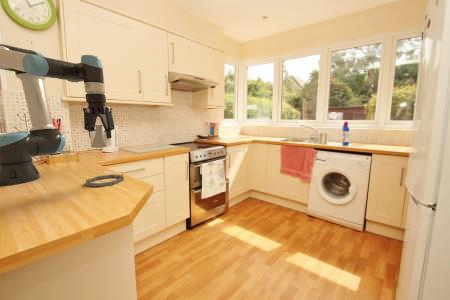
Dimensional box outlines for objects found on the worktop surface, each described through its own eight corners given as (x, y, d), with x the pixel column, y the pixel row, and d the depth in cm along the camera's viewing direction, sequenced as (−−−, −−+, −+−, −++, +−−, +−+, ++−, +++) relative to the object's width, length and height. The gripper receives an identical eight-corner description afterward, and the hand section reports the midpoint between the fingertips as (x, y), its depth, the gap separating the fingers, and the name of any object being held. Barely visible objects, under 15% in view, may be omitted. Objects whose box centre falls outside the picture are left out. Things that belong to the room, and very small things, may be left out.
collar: (78, 185, 93) (77, 180, 93) (105, 176, 108) (105, 171, 107) (105, 187, 89) (105, 182, 89) (130, 177, 104) (130, 173, 103)
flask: (102, 148, 92) (99, 125, 90) (88, 148, 93) (85, 125, 91) (114, 145, 98) (111, 124, 97) (100, 145, 100) (98, 124, 98)
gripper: (69, 94, 91) (76, 146, 95) (107, 91, 86) (113, 147, 89) (85, 95, 98) (91, 144, 102) (120, 93, 93) (125, 144, 96)
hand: (101, 145), depth 96 cm, fingers closed on flask, 7 cm apart
